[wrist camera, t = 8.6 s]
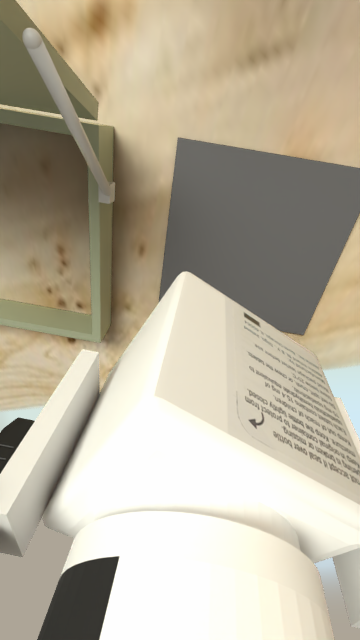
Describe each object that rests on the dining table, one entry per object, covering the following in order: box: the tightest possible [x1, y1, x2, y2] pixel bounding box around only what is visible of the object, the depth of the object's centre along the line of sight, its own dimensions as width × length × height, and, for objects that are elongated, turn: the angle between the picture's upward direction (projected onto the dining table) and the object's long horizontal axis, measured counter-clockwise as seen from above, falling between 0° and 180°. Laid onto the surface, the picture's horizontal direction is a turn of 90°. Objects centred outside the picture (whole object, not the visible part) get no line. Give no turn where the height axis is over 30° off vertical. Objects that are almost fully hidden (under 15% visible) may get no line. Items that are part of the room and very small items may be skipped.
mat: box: [159, 138, 360, 335], centre depth 31 cm, size 18×18×1 cm
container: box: [37, 271, 360, 640], centre depth 10 cm, size 8×8×13 cm
